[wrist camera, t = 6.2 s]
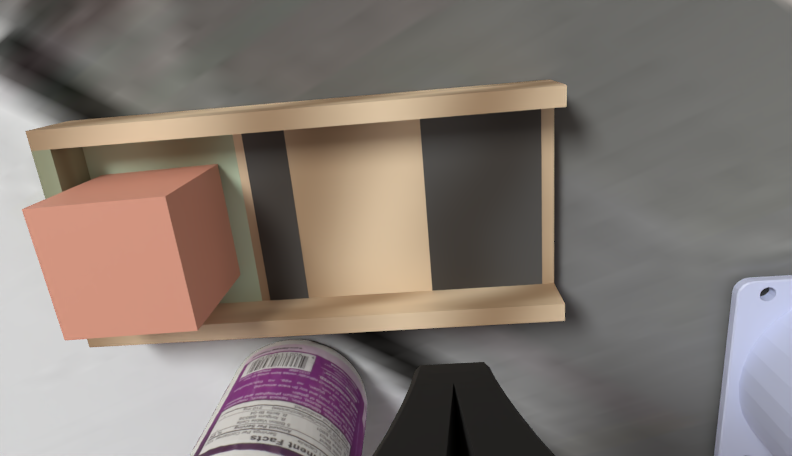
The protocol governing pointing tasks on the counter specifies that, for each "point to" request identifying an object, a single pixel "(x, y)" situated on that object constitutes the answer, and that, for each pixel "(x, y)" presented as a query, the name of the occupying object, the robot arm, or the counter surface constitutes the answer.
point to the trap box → (355, 205)
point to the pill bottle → (289, 405)
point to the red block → (136, 252)
